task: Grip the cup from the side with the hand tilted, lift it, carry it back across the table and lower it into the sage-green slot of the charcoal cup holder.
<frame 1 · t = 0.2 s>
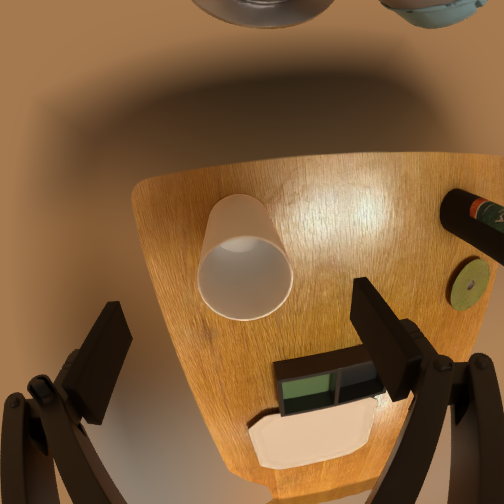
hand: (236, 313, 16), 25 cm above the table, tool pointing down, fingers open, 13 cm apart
cup: (238, 223, 40), on the table
wine bottle: (454, 209, 42), on the table
plate: (313, 432, 61), on the table
holder: (331, 371, 52), on the table
mat: (465, 281, 48), on the table
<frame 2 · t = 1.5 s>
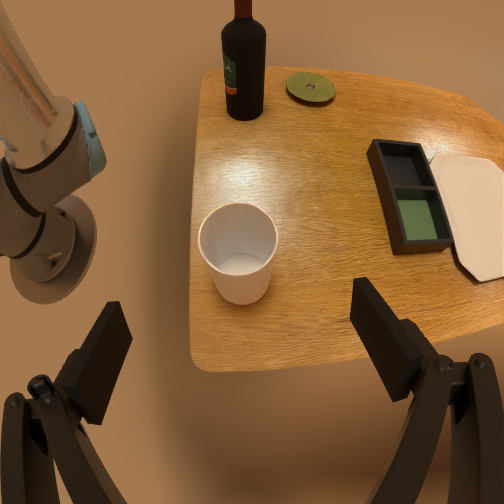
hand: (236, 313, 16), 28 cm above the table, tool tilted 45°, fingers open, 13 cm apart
cup: (242, 278, 46), on the table
wine bottle: (244, 109, 58), on the table
plate: (484, 215, 50), on the table
holder: (404, 199, 51), on the table
mat: (309, 92, 60), on the table
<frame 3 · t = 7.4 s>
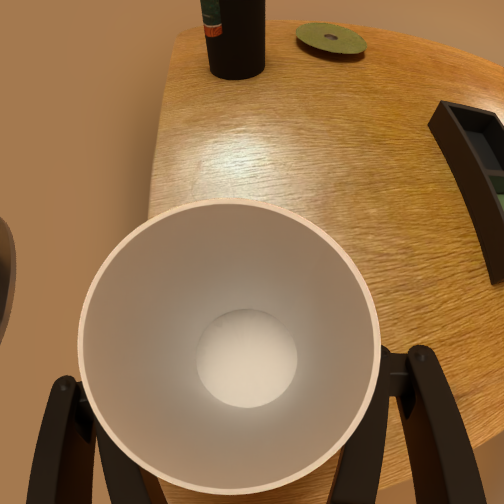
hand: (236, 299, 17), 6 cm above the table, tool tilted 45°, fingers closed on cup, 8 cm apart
cup: (246, 358, 22), on the table, touching gripper
wine bottle: (237, 66, 35), on the table
holder: (490, 194, 27), on the table
mat: (330, 46, 38), on the table
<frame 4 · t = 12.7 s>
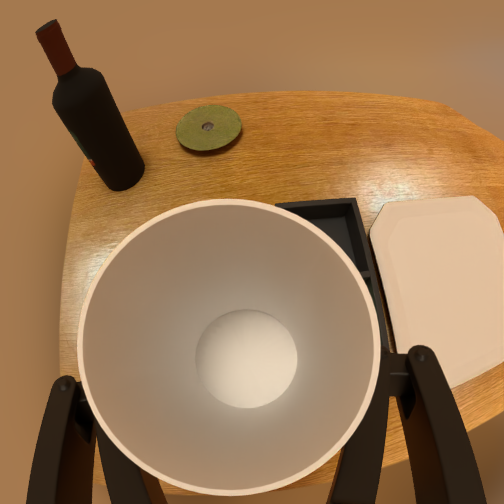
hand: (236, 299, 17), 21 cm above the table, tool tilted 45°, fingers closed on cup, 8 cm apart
cup: (246, 359, 22), point 14 cm above the table, touching gripper
wine bottle: (124, 173, 47), on the table
plate: (456, 286, 38), on the table
holder: (325, 288, 39), on the table
mat: (209, 133, 49), on the table
when the fingers open (7 cm above the table, at t = 18.2 s): cup stays where it is, resting on holder.
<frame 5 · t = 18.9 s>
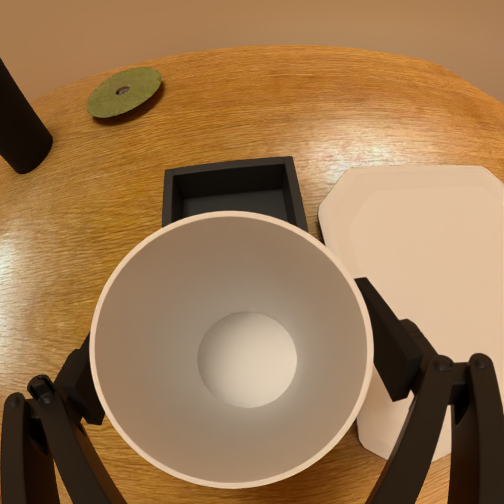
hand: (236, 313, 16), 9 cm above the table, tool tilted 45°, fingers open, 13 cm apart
cup: (247, 360, 23), point 1 cm above the table, touching holder
wine bottle: (33, 153, 33), on the table
plate: (462, 296, 24), on the table
holder: (241, 298, 25), on the table
mat: (127, 100, 36), on the table
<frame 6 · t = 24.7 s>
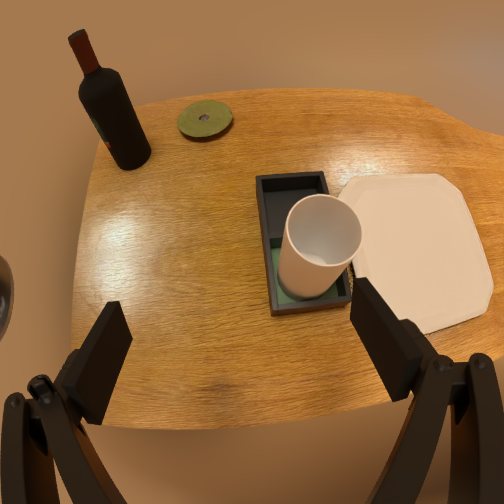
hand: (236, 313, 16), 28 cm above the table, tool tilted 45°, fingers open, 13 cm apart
cup: (303, 275, 45), point 1 cm above the table, touching holder
wine bottle: (134, 156, 55), on the table
plate: (420, 249, 47), on the table
holder: (298, 245, 47), on the table
mat: (205, 124, 58), on the table
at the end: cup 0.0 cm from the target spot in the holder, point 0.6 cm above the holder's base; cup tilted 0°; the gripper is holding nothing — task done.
